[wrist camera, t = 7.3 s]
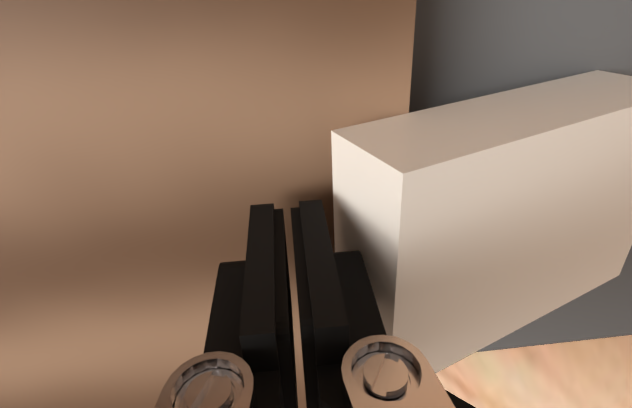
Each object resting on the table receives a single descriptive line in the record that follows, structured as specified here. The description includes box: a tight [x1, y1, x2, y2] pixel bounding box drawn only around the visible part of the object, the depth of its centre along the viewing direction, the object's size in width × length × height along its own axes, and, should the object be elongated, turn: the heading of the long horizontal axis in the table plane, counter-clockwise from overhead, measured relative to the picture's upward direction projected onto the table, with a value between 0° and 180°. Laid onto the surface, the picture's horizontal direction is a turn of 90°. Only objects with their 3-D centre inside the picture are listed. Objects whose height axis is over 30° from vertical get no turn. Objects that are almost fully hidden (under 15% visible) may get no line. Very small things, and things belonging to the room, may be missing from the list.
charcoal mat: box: [409, 0, 632, 352], centre depth 14 cm, size 18×14×1 cm
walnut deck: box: [0, 0, 417, 408], centre depth 12 cm, size 18×14×3 cm
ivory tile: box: [331, 70, 632, 373], centre depth 11 cm, size 6×9×2 cm, turn 93°
